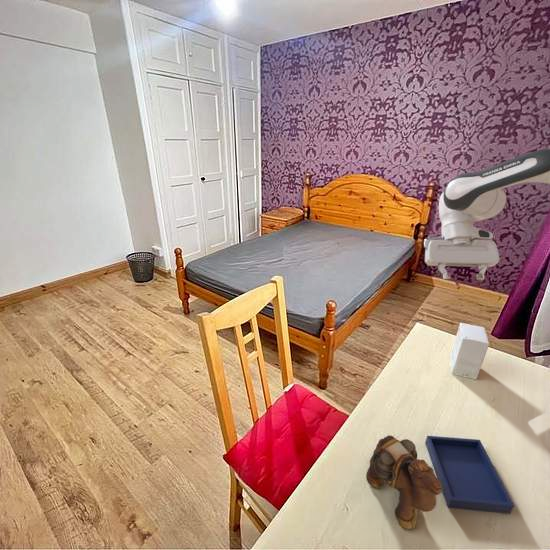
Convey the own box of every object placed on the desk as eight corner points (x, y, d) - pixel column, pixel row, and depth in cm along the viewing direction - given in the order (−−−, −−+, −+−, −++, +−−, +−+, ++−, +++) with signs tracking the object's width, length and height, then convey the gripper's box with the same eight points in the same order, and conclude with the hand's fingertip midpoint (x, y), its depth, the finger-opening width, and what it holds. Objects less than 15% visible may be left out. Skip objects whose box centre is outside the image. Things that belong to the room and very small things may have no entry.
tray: (476, 447, 69) (479, 439, 68) (510, 513, 57) (514, 506, 56) (424, 442, 70) (427, 435, 69) (447, 507, 59) (450, 500, 57)
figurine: (407, 549, 53) (424, 501, 46) (351, 469, 65) (358, 422, 59) (444, 521, 57) (465, 472, 50) (385, 450, 69) (395, 404, 62)
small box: (476, 380, 86) (490, 344, 80) (451, 374, 89) (462, 338, 83) (472, 361, 93) (485, 326, 87) (449, 356, 95) (459, 322, 89)
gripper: (427, 232, 93) (431, 275, 89) (498, 232, 91) (506, 277, 87) (419, 240, 99) (423, 281, 95) (486, 241, 97) (493, 283, 93)
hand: (463, 279), depth 91 cm, fingers open, 8 cm apart
